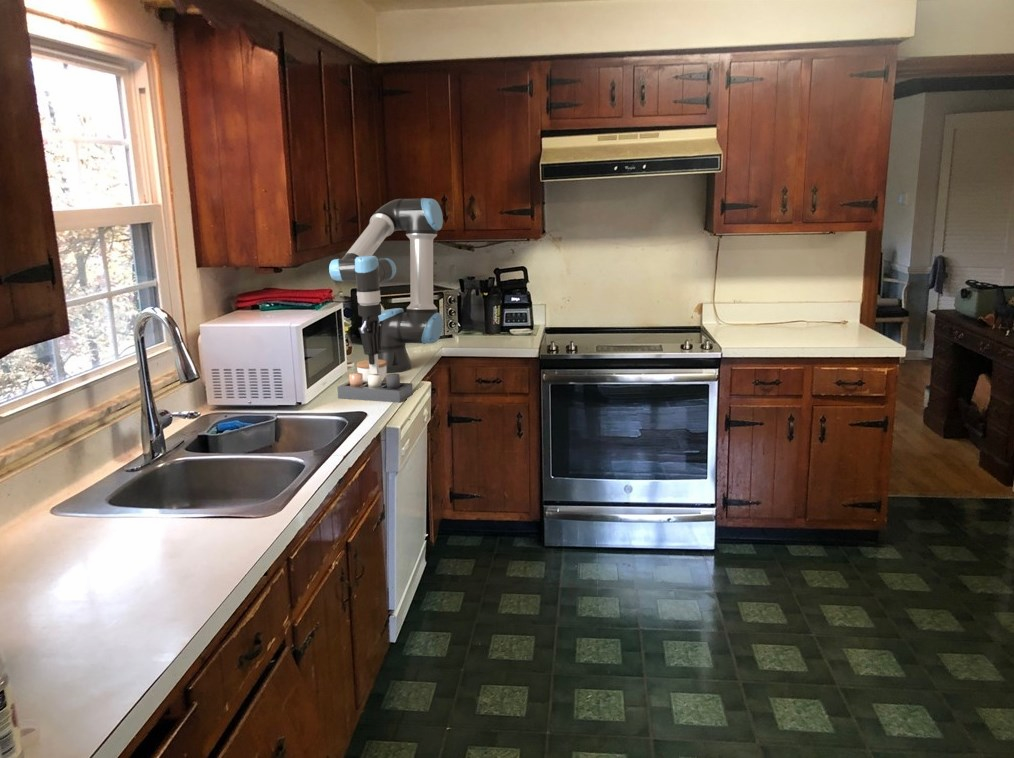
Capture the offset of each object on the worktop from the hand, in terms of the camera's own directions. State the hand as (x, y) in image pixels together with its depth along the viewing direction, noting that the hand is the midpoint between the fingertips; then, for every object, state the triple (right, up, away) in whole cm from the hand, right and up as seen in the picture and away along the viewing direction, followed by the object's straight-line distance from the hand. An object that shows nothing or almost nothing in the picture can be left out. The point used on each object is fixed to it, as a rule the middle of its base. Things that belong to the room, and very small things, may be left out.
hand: (374, 373), depth 266 cm
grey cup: (+7, -6, -1) cm, 9 cm away
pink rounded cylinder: (-7, -5, +3) cm, 9 cm away
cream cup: (0, -6, +1) cm, 6 cm away
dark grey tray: (0, -8, +2) cm, 8 cm away
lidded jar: (-4, -4, +21) cm, 21 cm away
